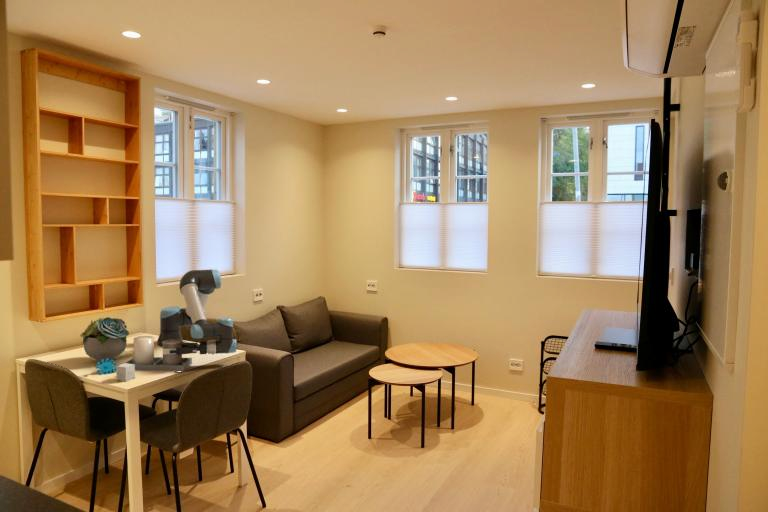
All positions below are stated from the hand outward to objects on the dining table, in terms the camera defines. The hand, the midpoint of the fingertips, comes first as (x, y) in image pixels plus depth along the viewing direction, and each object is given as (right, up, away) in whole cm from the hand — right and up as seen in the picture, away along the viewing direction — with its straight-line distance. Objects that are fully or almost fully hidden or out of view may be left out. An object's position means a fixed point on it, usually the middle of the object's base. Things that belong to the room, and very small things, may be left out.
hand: (164, 349), depth 283 cm
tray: (-4, -10, +2) cm, 11 cm away
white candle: (-11, -9, +1) cm, 15 cm away
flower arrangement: (-37, -9, +11) cm, 40 cm away
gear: (-24, -11, -12) cm, 29 cm away
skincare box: (-11, -12, -20) cm, 25 cm away
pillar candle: (+4, -10, +2) cm, 11 cm away
